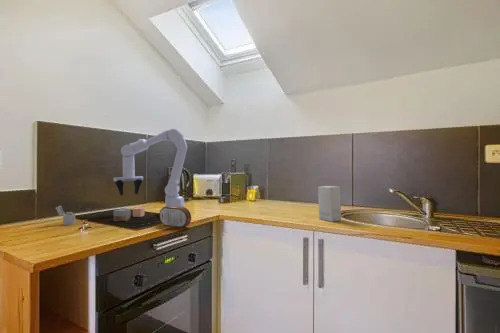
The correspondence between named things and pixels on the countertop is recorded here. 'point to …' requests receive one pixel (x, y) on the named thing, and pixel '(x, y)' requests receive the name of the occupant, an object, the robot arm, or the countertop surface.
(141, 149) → the robot arm
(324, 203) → the skincare box
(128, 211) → the charcoal slab
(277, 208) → the countertop surface
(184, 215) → the tin
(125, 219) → the walnut slab
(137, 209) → the terracotta cube
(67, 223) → the lighter
